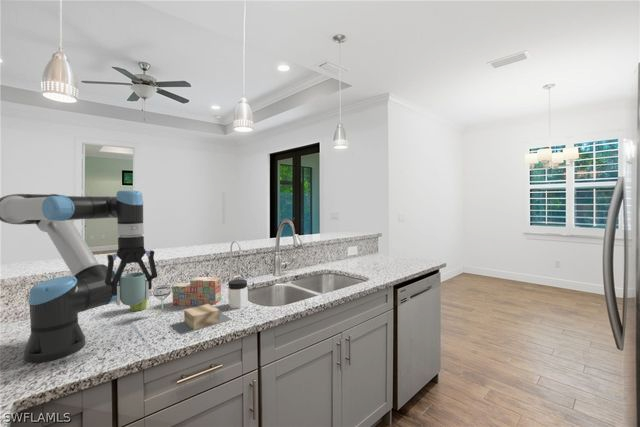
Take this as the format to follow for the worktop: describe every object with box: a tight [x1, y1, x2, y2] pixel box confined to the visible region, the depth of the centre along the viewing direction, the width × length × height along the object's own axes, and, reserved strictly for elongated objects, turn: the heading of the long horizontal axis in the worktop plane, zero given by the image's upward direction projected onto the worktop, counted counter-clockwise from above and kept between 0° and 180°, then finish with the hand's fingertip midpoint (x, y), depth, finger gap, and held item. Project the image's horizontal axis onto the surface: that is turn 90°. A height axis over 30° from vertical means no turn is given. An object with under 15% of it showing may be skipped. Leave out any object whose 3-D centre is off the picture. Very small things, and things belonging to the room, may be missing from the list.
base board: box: [170, 311, 233, 335], centre depth 119 cm, size 20×12×1 cm, turn 133°
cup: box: [119, 271, 147, 307], centre depth 103 cm, size 8×8×10 cm
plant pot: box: [129, 289, 151, 312], centre depth 137 cm, size 9×9×9 cm
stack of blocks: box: [171, 276, 222, 307], centre depth 143 cm, size 21×6×12 cm, turn 84°
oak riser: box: [183, 304, 220, 330], centre depth 119 cm, size 10×10×5 cm
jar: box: [227, 278, 249, 309], centre depth 138 cm, size 9×8×12 cm
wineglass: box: [152, 284, 172, 317], centre depth 130 cm, size 7×7×12 cm
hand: (132, 301), depth 103 cm, fingers closed on cup, 8 cm apart
